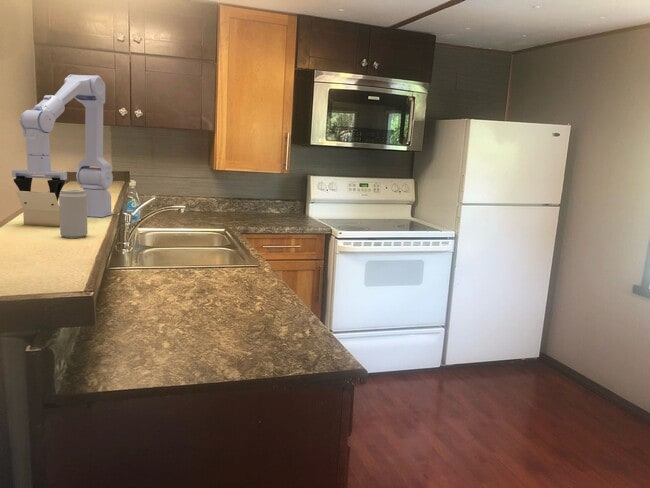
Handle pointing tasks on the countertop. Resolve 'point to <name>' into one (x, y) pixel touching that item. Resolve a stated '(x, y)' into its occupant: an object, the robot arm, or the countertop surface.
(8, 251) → the countertop surface
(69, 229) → the beverage can
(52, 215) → the carton
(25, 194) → the flap
